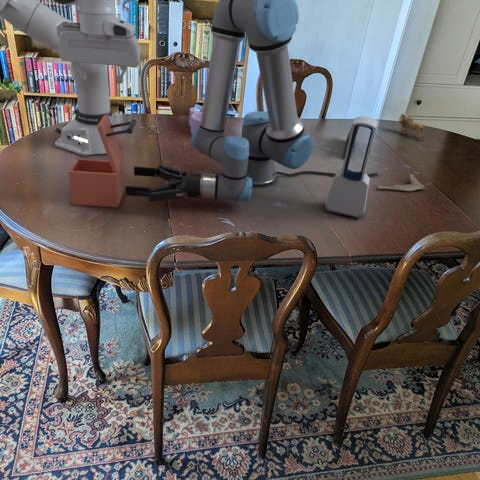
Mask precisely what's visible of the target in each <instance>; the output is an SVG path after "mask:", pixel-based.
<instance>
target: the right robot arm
mask: <svg viewBox="0 0 480 480" xmlns="http://www.w3.org/2000/svg"><path fill="white" fill-rule="evenodd" d="M299 13H300V12H299V7H298V4H297V1H296V0H218V2H217V4H216V7H215V9H214V12H213V17H212V22H211V27H210V33H211V35H212V36H213V38H212V44H211V51H210V58H209V65H208V71H207V78H206V83H205V84H206V85H205V91H204V96H203V104H202V107H203V109H202V116H201V122H200V127H198V128H196V129H195V130H194V132H193V134H192V133H191V136H190V144H191V145H192V147H193V148H194V149H196V150H197V151H198V152H199V153H201V154H203V155H205V156H206V157H209V158H210V159H211V160H213V161H215V162H216V163H218V164H220V165H221V173H220V174H213V173H202V174H201V173H200V172H189V173H188V172H187V171H185V170H179V169H176V168H172V167H169V166H166V165H163V164H158V166H156V167H145V166H133V176H135V177H136V176H137V177H149V178H157V179H158V178H160V179H162V180H165V181H166V182H168V183H167V184H165V185H161V186H160V185H159V186H156V187H154V188H151V187H150V186H149V187H146V186H145V187H144V186H132V185H125V186H124V189H125V191H124V192H125V196H128V197H129V196H130V197H141V198H147V199H148V200H149V202H150V203H154V202H160V201H167V200H174V199H179V200H180V199H184V194H186V196H187V198H191V199H199V198H201V199H206V200H219V201H230V202H234V203H235V202H249V201H250V200H251V198H252V194H253V193H252V191H253V187H267V186H269V185H272V184H274V183H275V182H276V179H277V175H280V176H286V177H295V176H298V175H303V174H313V175H323V176H334V177H335V175H336V173H333V172H325V171H314V170H302V171H297V172H293V173H287V172H281V171H276V166H275V163H277V164H279V165H281V166H283V167H284V168H288V169H290V170H297V169H299V168H302V167H303V166H304V165H305V164H306V163H307V161H308V160H309V159H310V157H311V155H312V153H313V152H314V151H313V150H314V146H315V142H314V139H313V137H312V136H311V135H310V134H306V131H305V125H304V122H303V120H302V119H301V118H300V117H298V110H297V103H296V97H295V90H294V83H293V75H292V68H291V66H290V55H289V47H288V46H289V44H290V43H291V42H292V40H293V35H294V34H295V32H296V30H297V25H298V23H299V17H300V16H299V15H300V14H299ZM245 38H246V39H247V43H248V48H249V49H250V50H251V51H252V52H254V53H256V59H257V65H258V69H259V75H260V80H261V86H262V90H263V91H262V92H263V96H264V101H265V105H266V111H262V110H261V111H259V110H257V111H252V112H248V113H246V114H245V115H244V117H243V122H242V125H241V126H242V127H241V136H239V135H229V136H226V137H225V136H224V134H225V127H226V122H227V116H228V112H229V107H230V101H231V95H232V89H233V84H234V78H235V74H236V73H235V72H236V67H237V62H238V56H239V50H240V46H241V43H242V42H243V41H244V40H245ZM366 174H367V175H368V177H373V176H378V172H372V173H366Z"/></svg>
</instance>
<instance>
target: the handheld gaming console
mask: <svg viewBox="0 0 480 480" xmlns="http://www.w3.org/2000/svg"><path fill="white" fill-rule="evenodd" d="M352 125H353V123H352V124H351V127H350V129H349V131H348V133H347V135H346V136H347V137H346V141H345V146H344V150H343V154H342V158H343V159H345V155H346V151H347V146H348V142H349V138H350V133H351V129H352ZM359 129H360V126H359V127H357V131H356V136H355V140H354V144H353V147H354V145H355V144H356V141H357V136H358V133H359Z"/></svg>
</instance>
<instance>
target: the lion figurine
mask: <svg viewBox="0 0 480 480" xmlns="http://www.w3.org/2000/svg"><path fill="white" fill-rule="evenodd" d="M398 123H400V125H401V127H402V128H404V129H403V132H402V135H404V136H405V135H406V134H407V133H408V132H406V131H409V130H411V131H415V132H416V134H417V135H418V136H417V135H415V137H416V138H417V141H420V140H421V139H423V138H425V136H424V125H423V124H422V123H419V122H415V121H414V120H413V119H412V118H411V117H410V116H409V115H408V114H406V113H402V114H401V113H400V116H399V119H398ZM404 132H405V133H404ZM419 138H421V139H419Z"/></svg>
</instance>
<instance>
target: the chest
mask: <svg viewBox="0 0 480 480" xmlns="http://www.w3.org/2000/svg"><path fill="white" fill-rule="evenodd" d="M68 178H69V187H70V195H71V204H72V205H73V206H90V207H91V206H92V207H105V208H119V206H120V203H121V201H122V197H123V195H124V180H123V163H122V164H121V166H120V168H119V171H118V172H116V173H114V172H113V170H112V167H111V164H110V161H109V160H103V159H91V158H77V159H76V160H75V161H74V162H73V165H72V166H71V168H70V169H69V170H68Z"/></svg>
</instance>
